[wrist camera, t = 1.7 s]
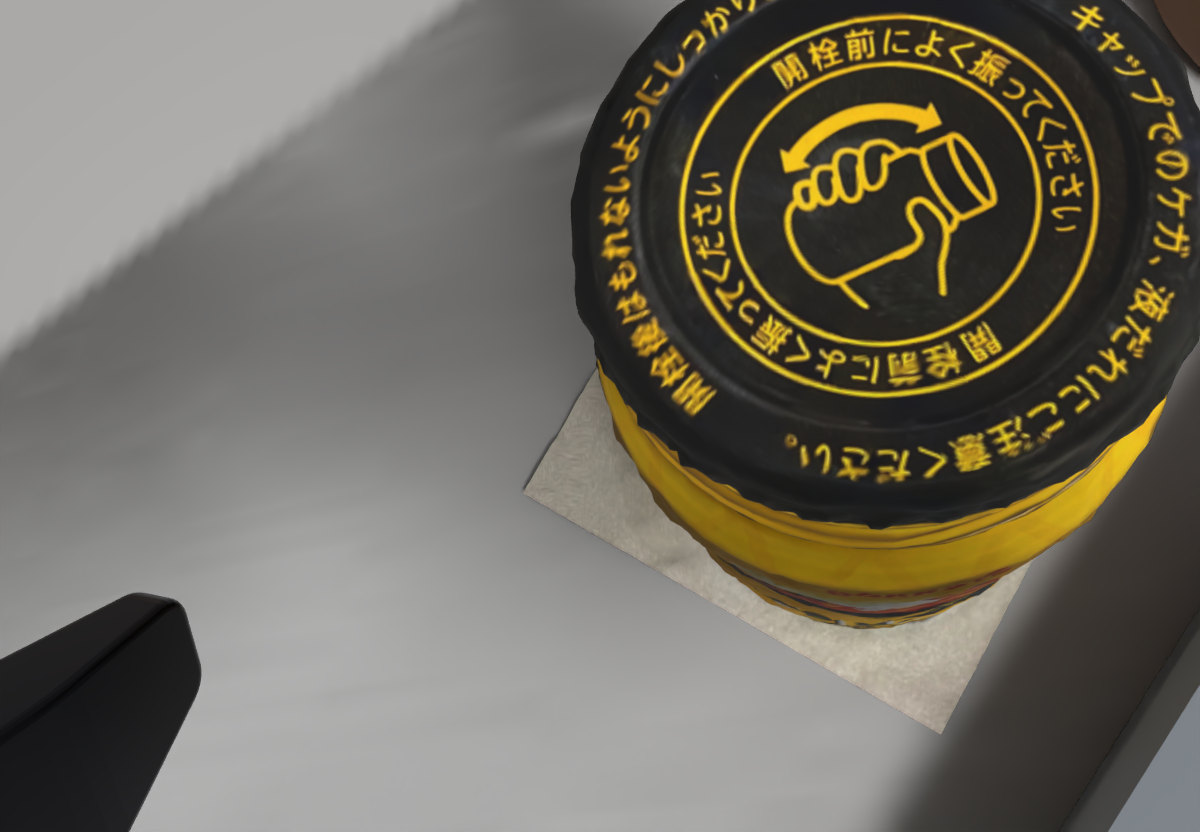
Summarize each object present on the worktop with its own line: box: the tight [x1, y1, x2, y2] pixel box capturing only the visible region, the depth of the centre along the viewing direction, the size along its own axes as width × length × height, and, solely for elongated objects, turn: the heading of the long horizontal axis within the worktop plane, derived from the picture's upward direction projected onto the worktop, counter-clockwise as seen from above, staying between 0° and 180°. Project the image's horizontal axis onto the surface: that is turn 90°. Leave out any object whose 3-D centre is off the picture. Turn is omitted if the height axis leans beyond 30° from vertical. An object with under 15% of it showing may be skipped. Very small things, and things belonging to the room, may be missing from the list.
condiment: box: [523, 0, 1200, 734], centre depth 15 cm, size 7×8×12 cm
